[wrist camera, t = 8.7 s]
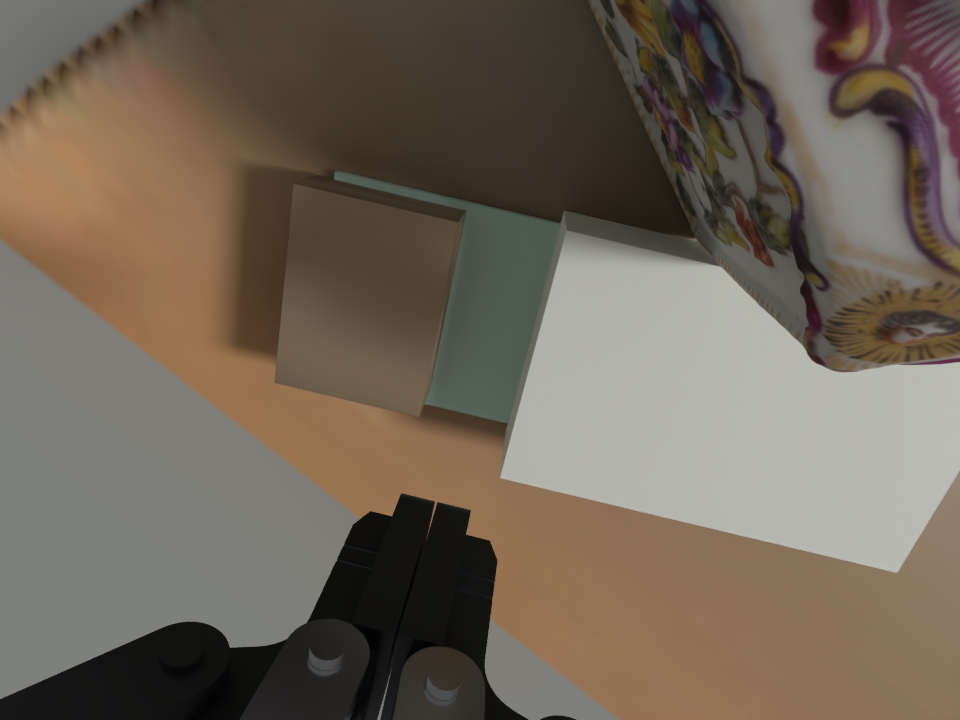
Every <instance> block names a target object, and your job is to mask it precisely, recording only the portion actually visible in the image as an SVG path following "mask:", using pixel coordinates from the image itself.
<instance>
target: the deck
mask: <svg viewBox="0 0 960 720" xmlns="http://www.w3.org/2000/svg"><path fill="white" fill-rule="evenodd" d="M959 471H960V362H955V363H947V364H936V365H898V364H897V365H889V366H885V367H880V368H874V369H867V370H862V371H858V372H836V371H832V370H830V369H827V368H825V367H823V366H822V365H819V364H816V363H815V362H813V361H812V360H811V359H810V357H809V356H808V355H807V352H806V350H805V348H804V347H803V346H802V344H801V343H800V342H799V341H797V340H796V339H795V338H794V337H793V336H792V335H791V334H790V333H789V332H788V331H787V330H786V329H785V328H784V327H783V326H781V325H780V324H779V323H778V322H777V321H776V320H775V319H774V318H773V317H772V316H771V315H769V314H768V313H767V312H766V311H765V310H764V309H763V308H762V307H760V306H759V305H758V303H757V302H756V301H755V300H754V299H753V298H751V297H750V296H749V294H748V293H746V292H745V291H744V290H743V289H742V288H741V287H740V286H739V285H738V283H737V282H735V281H734V279H733V278H731V277H730V275H729V274H727V273H726V271H725V270H724V269H723V268H722V267H721V266H720V265H719V264H718V263H717V261H716V260H714V258H713V257H712V256H711V255H710V254H709V253H708V252H707V251H706V250H705V249H704V247H703V246H702V245H701V244H700V242H697V241H692V240H688V239H684V238H680V237H675V236H671V235H667V234H663V233H658V232H654V231H650V230H646V229H641V228H637V227H633V226H629V225H624V224H620V223H616V222H612V221H607V220H603V219H599V218H595V217H590V216H586V215H582V214H578V213H573V212H569V211H565V210H564V212H563V216H562V219H561V226H560V229H559V233H558V237H557V241H556V245H555V248H554V252H553V256H552V260H551V263H550V267H549V271H548V275H547V279H546V282H545V286H544V290H543V294H542V297H541V301H540V305H539V309H538V312H537V316H536V320H535V324H534V328H533V331H532V335H531V339H530V343H529V346H528V350H527V354H526V358H525V362H524V365H523V369H522V373H521V377H520V380H519V384H518V388H517V392H516V396H515V399H514V403H513V407H512V411H511V414H510V418H509V422H508V424H507V427H506V433H505V441H504V449H503V457H502V465H501V473H500V478H502V479H506V480H510V481H515V482H519V483H523V484H527V485H531V486H535V487H540V488H544V489H548V490H552V491H556V492H561V493H565V494H569V495H573V496H577V497H582V498H586V499H590V500H594V501H598V502H603V503H607V504H611V505H615V506H619V507H623V508H628V509H632V510H636V511H640V512H644V513H649V514H653V515H657V516H661V517H665V518H670V519H674V520H678V521H682V522H686V523H691V524H695V525H699V526H703V527H707V528H712V529H716V530H720V531H724V532H728V533H732V534H737V535H741V536H745V537H749V538H753V539H758V540H762V541H766V542H770V543H774V544H779V545H783V546H787V547H791V548H795V549H800V550H804V551H808V552H812V553H816V554H820V555H825V556H829V557H833V558H837V559H841V560H846V561H850V562H854V563H858V564H862V565H867V566H871V567H875V568H879V569H883V570H888V571H892V572H896V573H897V572H898V571H899V569H900V567H901V566H902V564H903V563H904V561H905V559H906V558H907V556H908V554H909V553H910V551H911V549H912V548H913V546H914V544H915V543H916V541H917V540H918V538H919V536H920V535H921V533H922V531H923V530H924V528H925V526H926V525H927V523H928V522H929V520H930V518H931V517H932V515H933V513H934V512H935V510H936V508H937V507H938V505H939V504H940V502H941V500H942V499H943V497H944V495H945V494H946V492H947V490H948V489H949V487H950V486H951V484H952V482H953V481H954V479H955V477H956V476H957V474H958V472H959Z"/></svg>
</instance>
